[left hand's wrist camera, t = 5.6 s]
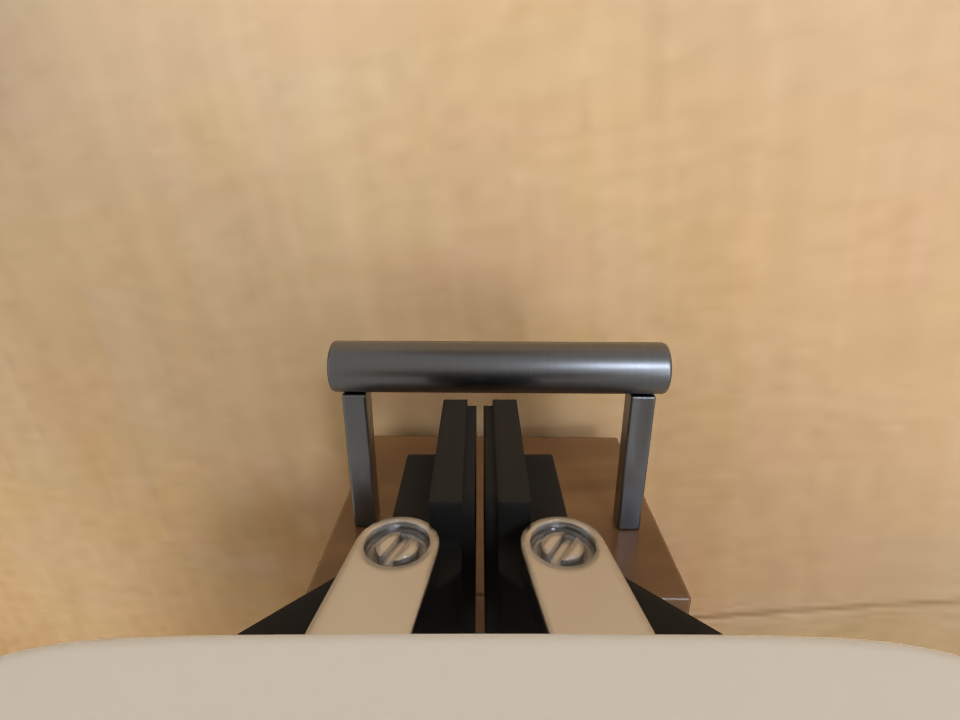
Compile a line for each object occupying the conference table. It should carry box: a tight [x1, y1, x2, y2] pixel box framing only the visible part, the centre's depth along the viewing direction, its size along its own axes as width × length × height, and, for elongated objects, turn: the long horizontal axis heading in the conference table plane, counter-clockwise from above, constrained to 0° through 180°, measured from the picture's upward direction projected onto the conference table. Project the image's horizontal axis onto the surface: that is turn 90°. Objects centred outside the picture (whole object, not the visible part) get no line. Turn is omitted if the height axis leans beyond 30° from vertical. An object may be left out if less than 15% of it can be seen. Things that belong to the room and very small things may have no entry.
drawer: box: [306, 341, 691, 634], centre depth 18 cm, size 25×9×8 cm, turn 0°
